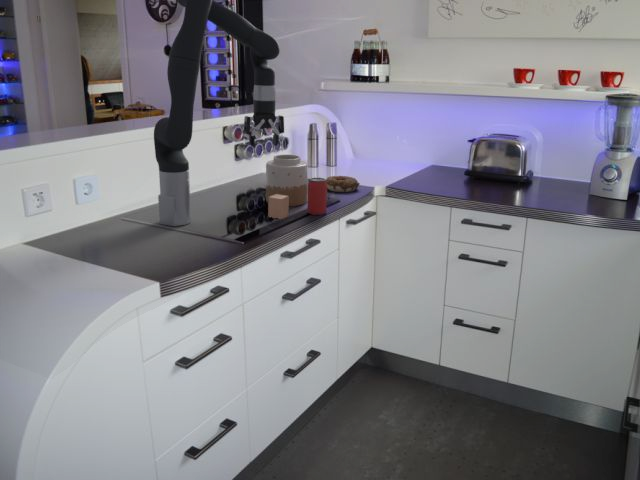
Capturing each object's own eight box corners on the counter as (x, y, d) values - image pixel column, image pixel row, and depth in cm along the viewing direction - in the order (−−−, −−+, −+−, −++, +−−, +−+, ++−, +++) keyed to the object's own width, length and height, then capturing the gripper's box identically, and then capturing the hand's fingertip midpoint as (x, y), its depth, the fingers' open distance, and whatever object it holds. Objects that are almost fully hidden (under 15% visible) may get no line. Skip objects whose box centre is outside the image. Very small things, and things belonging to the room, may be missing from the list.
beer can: (324, 216, 207) (325, 182, 203) (305, 214, 208) (306, 180, 204) (327, 211, 213) (329, 178, 209) (309, 209, 214) (310, 176, 210)
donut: (320, 192, 241) (321, 179, 239) (328, 184, 253) (329, 173, 252) (356, 195, 238) (356, 182, 236) (362, 187, 250) (362, 175, 249)
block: (280, 219, 202) (281, 199, 200) (268, 217, 204) (268, 197, 202) (288, 215, 206) (288, 196, 204) (276, 213, 208) (276, 194, 206)
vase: (311, 198, 230) (313, 154, 224) (299, 208, 216) (300, 162, 210) (274, 194, 234) (274, 151, 228) (259, 204, 220) (259, 158, 214)
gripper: (249, 100, 200) (249, 148, 205) (287, 99, 207) (287, 146, 212) (240, 97, 206) (241, 145, 211) (278, 97, 213) (278, 143, 218)
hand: (264, 146), depth 211 cm, fingers open, 8 cm apart
